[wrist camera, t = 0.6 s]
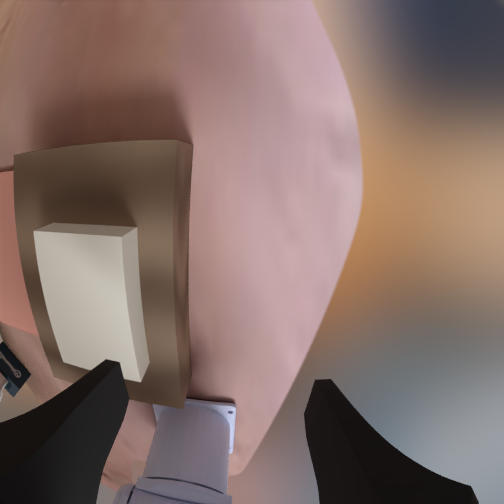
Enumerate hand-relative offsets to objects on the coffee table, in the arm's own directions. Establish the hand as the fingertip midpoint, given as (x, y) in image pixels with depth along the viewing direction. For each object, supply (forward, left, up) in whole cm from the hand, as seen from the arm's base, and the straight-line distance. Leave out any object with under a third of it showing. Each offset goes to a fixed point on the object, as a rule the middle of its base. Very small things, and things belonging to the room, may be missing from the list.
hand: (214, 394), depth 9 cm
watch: (-15, +28, -11) cm, 33 cm away
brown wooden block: (0, +9, -10) cm, 14 cm away
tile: (0, +8, -6) cm, 10 cm away
